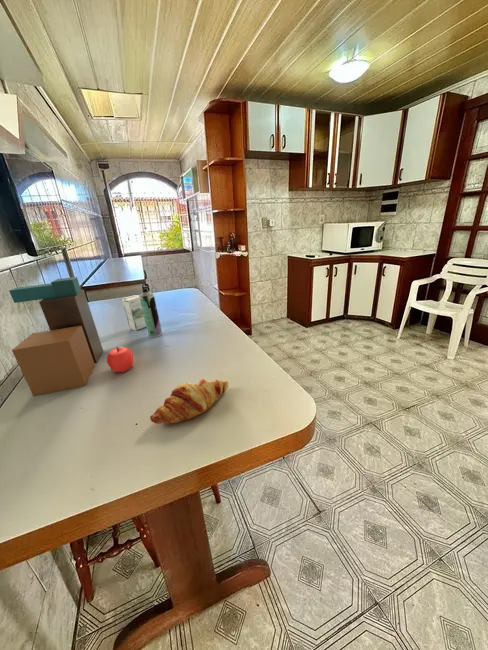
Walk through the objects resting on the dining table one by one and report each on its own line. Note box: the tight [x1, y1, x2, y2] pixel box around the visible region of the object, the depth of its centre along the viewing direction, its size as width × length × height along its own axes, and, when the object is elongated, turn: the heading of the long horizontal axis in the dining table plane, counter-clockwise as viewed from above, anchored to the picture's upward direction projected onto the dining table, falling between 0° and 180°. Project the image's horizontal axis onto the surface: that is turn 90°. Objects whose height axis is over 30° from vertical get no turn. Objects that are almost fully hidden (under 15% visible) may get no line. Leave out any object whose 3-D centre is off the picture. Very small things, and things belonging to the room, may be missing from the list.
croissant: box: [149, 378, 229, 424], centre depth 66 cm, size 21×10×8 cm, turn 130°
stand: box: [38, 289, 104, 365], centre depth 92 cm, size 10×10×24 cm
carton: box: [11, 326, 96, 397], centre depth 81 cm, size 14×12×15 cm
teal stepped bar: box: [8, 276, 82, 304], centre depth 85 cm, size 18×5×5 cm, turn 105°
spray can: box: [138, 287, 163, 339], centre depth 108 cm, size 6×6×20 cm
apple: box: [106, 346, 135, 373], centre depth 86 cm, size 8×8×8 cm
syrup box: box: [121, 294, 147, 332], centre depth 118 cm, size 6×6×14 cm
